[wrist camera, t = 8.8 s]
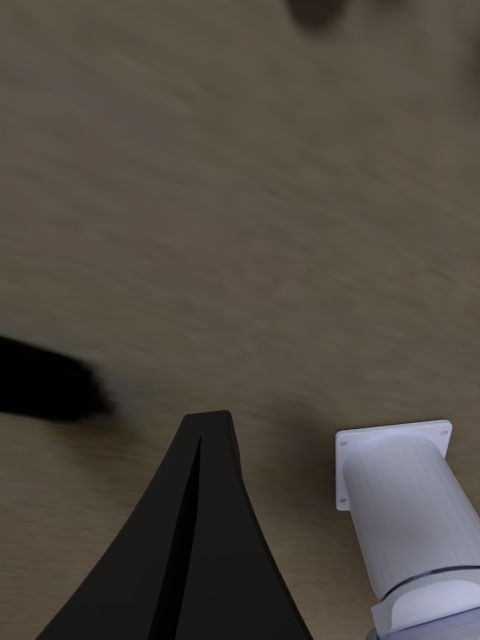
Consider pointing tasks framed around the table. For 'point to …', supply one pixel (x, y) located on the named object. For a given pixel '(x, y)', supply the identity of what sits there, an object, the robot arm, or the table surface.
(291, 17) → the table surface
